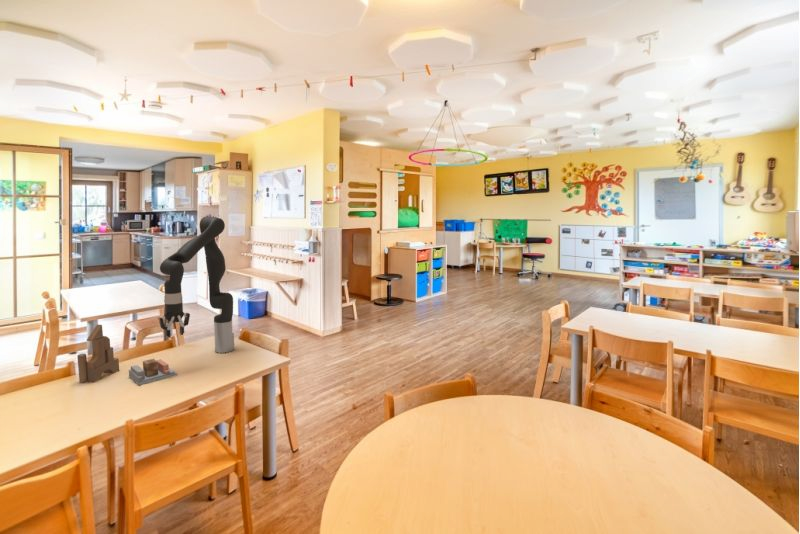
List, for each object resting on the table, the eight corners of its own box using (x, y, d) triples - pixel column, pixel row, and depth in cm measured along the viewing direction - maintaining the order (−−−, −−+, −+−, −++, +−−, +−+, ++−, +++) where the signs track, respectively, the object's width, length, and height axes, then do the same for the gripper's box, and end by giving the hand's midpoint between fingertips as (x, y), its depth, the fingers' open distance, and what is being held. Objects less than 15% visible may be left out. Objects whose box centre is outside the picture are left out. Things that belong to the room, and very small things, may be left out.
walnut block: (154, 371, 189) (153, 358, 188) (158, 374, 186) (157, 361, 185) (143, 374, 186) (142, 361, 185) (147, 377, 182) (146, 364, 182)
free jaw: (159, 366, 195) (159, 358, 194) (170, 374, 186) (169, 365, 186) (155, 367, 193) (154, 359, 192) (165, 375, 185) (165, 366, 184)
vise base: (166, 367, 197) (165, 356, 196) (177, 375, 188) (176, 364, 188) (128, 376, 185) (128, 365, 184) (139, 385, 176) (138, 373, 175)
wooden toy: (107, 369, 193) (103, 319, 189) (119, 370, 192) (116, 320, 188) (77, 382, 177) (73, 329, 174) (90, 384, 176) (86, 329, 173)
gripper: (160, 305, 182) (162, 340, 185) (192, 300, 193) (194, 334, 195) (154, 302, 187) (156, 337, 189) (186, 298, 198) (187, 331, 200)
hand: (175, 335), depth 192 cm, fingers open, 5 cm apart
